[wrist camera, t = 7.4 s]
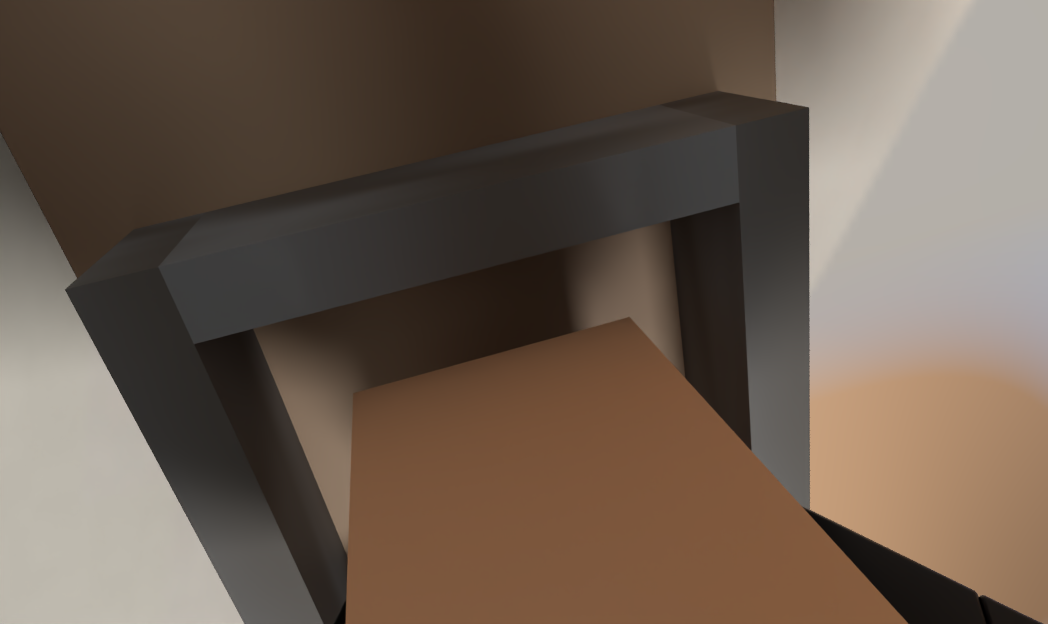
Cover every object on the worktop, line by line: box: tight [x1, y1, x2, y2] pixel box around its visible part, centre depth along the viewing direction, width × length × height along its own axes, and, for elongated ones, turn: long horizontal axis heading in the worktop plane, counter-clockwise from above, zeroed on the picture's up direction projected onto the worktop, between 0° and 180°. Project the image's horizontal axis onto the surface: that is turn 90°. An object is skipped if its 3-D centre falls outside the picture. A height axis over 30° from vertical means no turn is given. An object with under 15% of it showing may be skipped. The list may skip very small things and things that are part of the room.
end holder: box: [0, 0, 810, 624], centre depth 11 cm, size 11×18×3 cm, turn 11°
